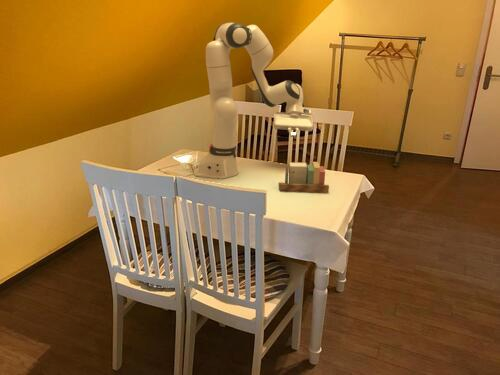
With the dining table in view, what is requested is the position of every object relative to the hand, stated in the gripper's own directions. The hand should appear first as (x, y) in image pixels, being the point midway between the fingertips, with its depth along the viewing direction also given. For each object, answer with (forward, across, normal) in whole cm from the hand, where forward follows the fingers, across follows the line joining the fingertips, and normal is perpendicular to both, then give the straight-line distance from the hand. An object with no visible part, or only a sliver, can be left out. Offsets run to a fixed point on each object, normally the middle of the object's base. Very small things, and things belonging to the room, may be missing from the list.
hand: (293, 136), depth 211 cm
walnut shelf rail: (+32, +6, -5) cm, 33 cm away
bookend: (+29, -4, -2) cm, 29 cm away
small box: (+27, +3, 0) cm, 27 cm away
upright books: (+29, +11, -2) cm, 31 cm away
